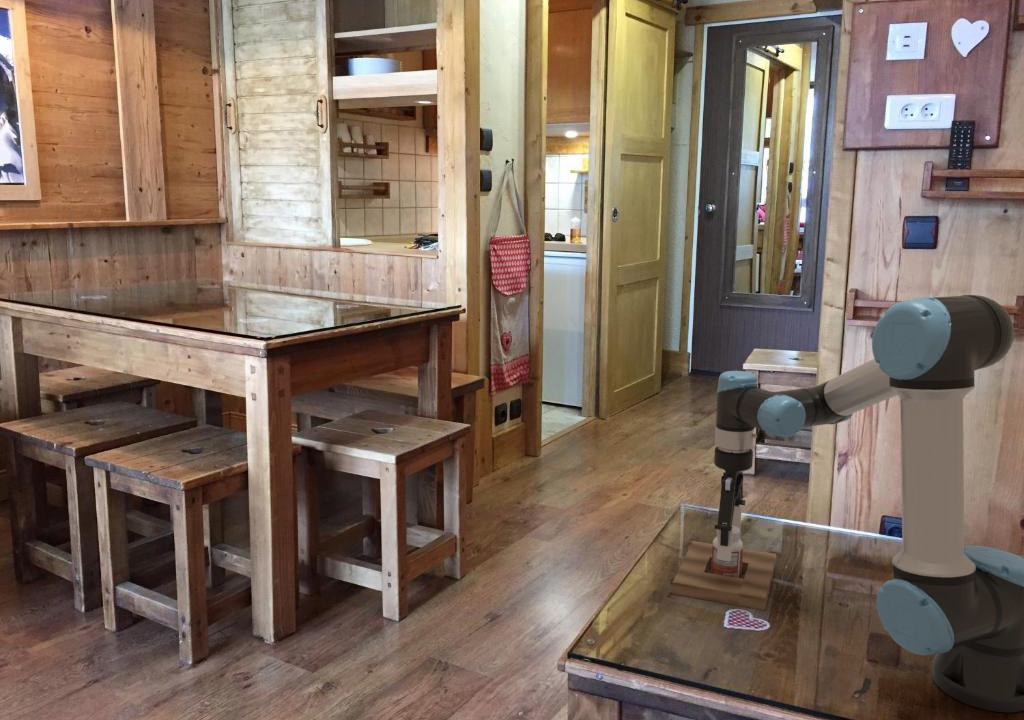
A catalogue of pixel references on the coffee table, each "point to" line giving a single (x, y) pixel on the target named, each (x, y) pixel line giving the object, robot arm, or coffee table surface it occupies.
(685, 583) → the square wooden frame
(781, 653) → the coffee table surface
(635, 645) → the coffee table surface
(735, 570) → the pill bottle
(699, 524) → the coffee table surface
